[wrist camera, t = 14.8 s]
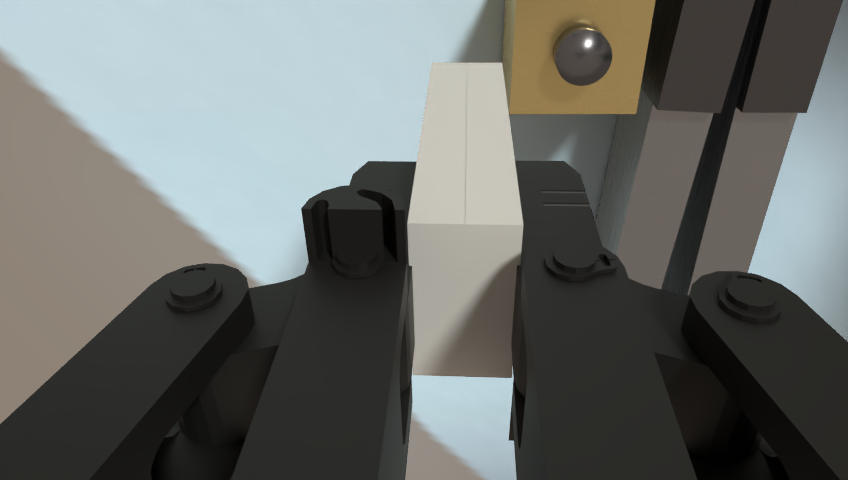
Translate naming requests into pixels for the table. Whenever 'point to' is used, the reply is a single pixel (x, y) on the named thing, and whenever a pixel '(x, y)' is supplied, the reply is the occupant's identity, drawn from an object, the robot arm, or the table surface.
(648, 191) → the tong arm
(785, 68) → the base
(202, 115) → the table surface
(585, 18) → the block
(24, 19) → the table surface
